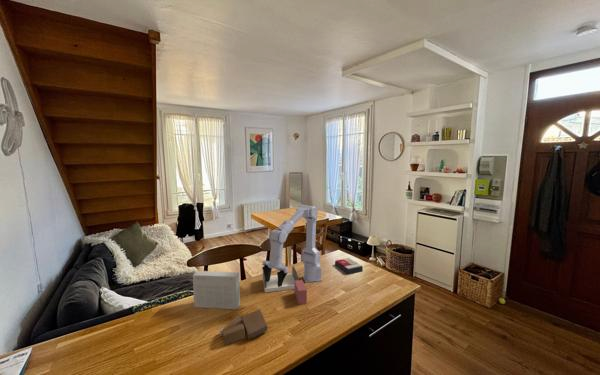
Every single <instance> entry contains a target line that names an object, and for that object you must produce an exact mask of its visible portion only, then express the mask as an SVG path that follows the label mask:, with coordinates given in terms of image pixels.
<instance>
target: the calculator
mask: <svg viewBox="0 0 600 375" xmlns="http://www.w3.org/2000/svg"><path fill="white" fill-rule="evenodd" d="M334 265H335V267H337V268H338V269H340V270H341V271H342V272H343V273H345V274H346V275H348V276H349V275H354V274H358V273H361V272H363V271H364V269H363V265H361V264H360V263H358V262H357V261H355V260H353V259H351V258H350V257H346V258H342V259H341V258H340V259H337V260H335V261H334Z"/></svg>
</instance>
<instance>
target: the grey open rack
mask: <svg viewBox="0 0 600 375" xmlns="http://www.w3.org/2000/svg"><path fill="white" fill-rule="evenodd" d="M296 280H299V274H298V272H297V271H296V268H295V266H292V267H291V272H290V273H289V272H288V273H287V275H286V276H285V278H284V280H283V283H282V286H280V287H278V275H277V274H272V275H270V281H269V282H266V280H265V275H264V272H263V271H262V281H263V282H262V283H263V289H264V293H271V292H281V291H288V290H295V281H296Z"/></svg>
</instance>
